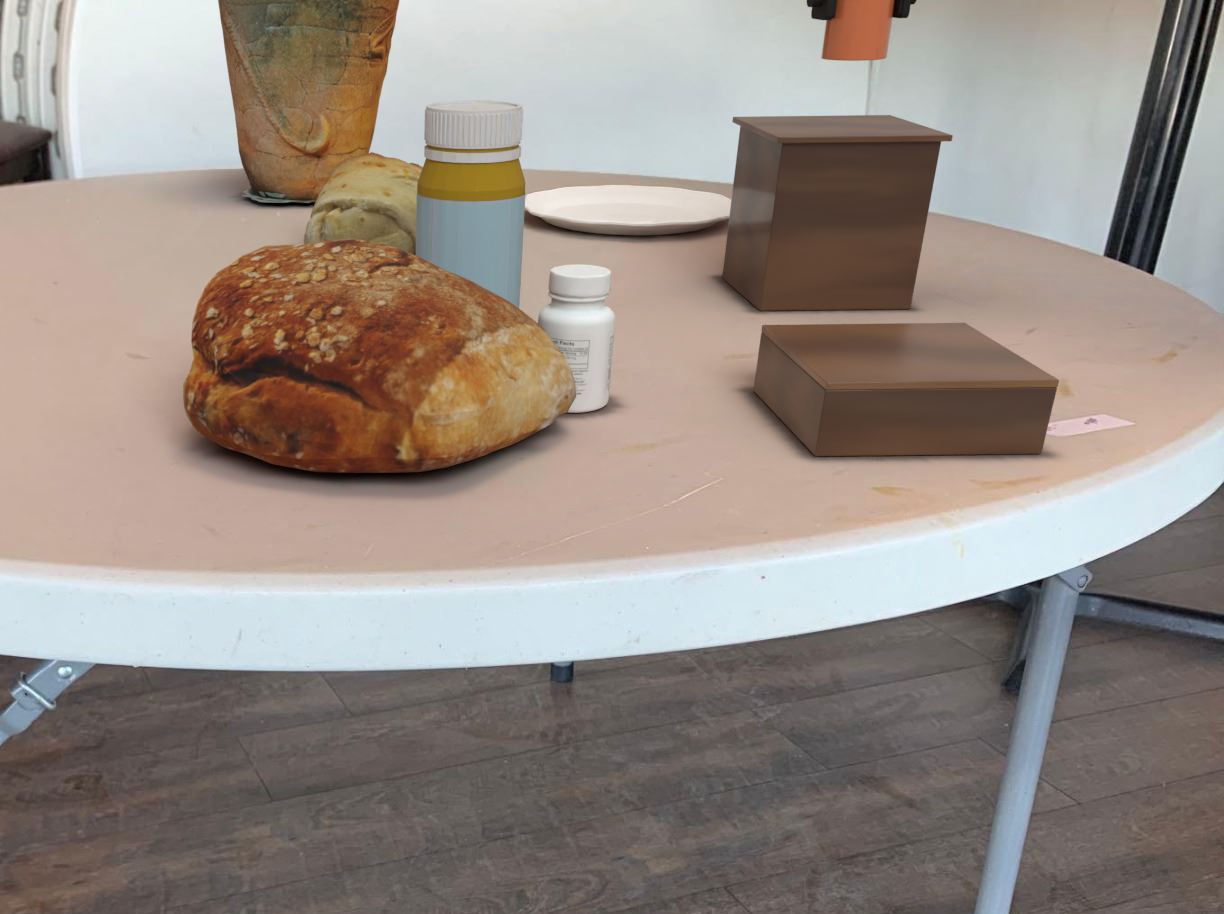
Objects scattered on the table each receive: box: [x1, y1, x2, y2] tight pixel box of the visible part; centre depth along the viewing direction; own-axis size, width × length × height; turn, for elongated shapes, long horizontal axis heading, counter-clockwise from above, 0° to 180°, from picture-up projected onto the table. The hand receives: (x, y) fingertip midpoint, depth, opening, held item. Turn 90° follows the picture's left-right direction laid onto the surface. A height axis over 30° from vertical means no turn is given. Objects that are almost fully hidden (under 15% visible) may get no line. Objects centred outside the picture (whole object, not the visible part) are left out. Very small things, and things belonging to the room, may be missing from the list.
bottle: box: [416, 100, 526, 309], centre depth 92 cm, size 7×7×15 cm
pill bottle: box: [537, 263, 616, 414], centre depth 81 cm, size 4×4×8 cm
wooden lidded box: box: [753, 322, 1060, 457], centre depth 78 cm, size 12×12×4 cm
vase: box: [217, 0, 400, 204], centre depth 141 cm, size 21×20×30 cm
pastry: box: [302, 151, 423, 255], centre depth 120 cm, size 14×12×8 cm
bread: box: [182, 239, 576, 474], centre depth 76 cm, size 20×18×10 cm
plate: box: [525, 184, 732, 236], centre depth 134 cm, size 21×21×2 cm
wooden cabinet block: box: [721, 114, 954, 312], centre depth 104 cm, size 12×12×12 cm
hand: (859, 15), depth 98 cm, fingers closed on spice jar, 4 cm apart
